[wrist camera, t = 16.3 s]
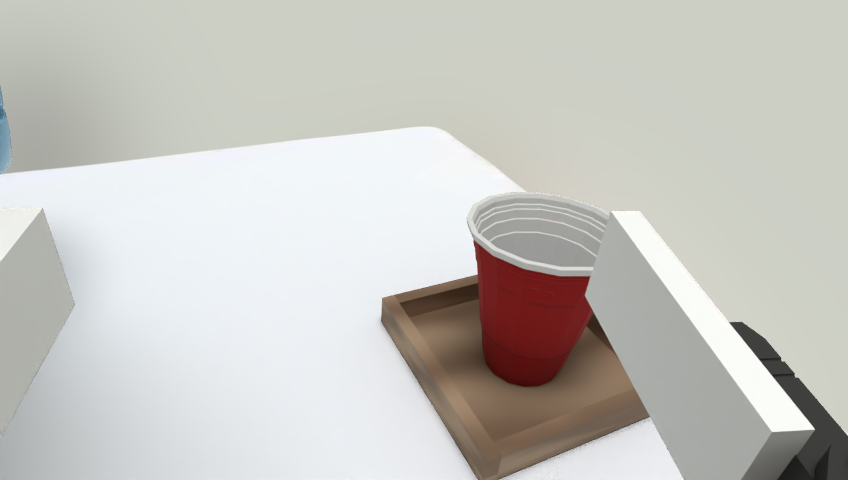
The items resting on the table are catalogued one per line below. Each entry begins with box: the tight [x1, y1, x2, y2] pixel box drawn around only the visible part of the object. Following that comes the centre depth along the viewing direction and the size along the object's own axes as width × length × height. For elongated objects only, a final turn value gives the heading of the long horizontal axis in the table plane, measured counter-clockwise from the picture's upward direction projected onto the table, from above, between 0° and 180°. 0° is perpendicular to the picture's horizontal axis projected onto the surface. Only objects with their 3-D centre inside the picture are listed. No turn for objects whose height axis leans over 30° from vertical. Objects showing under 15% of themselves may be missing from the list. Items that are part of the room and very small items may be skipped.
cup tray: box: [381, 275, 650, 480], centre depth 44 cm, size 16×16×2 cm
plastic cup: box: [466, 192, 610, 387], centre depth 41 cm, size 11×11×12 cm
